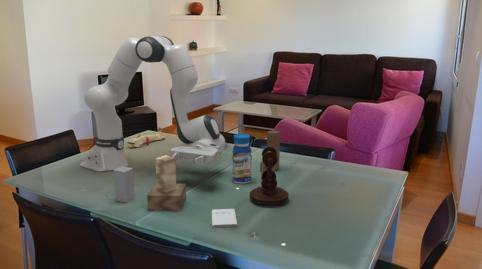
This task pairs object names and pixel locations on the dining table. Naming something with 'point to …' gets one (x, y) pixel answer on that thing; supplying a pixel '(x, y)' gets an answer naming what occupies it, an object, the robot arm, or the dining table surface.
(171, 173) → the maple block
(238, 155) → the beverage bottle
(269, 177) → the dark brown tall piece
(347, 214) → the dining table surface
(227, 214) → the external hard drive
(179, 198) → the walnut base block
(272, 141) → the wooden block
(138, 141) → the cat figure
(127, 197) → the grey block
